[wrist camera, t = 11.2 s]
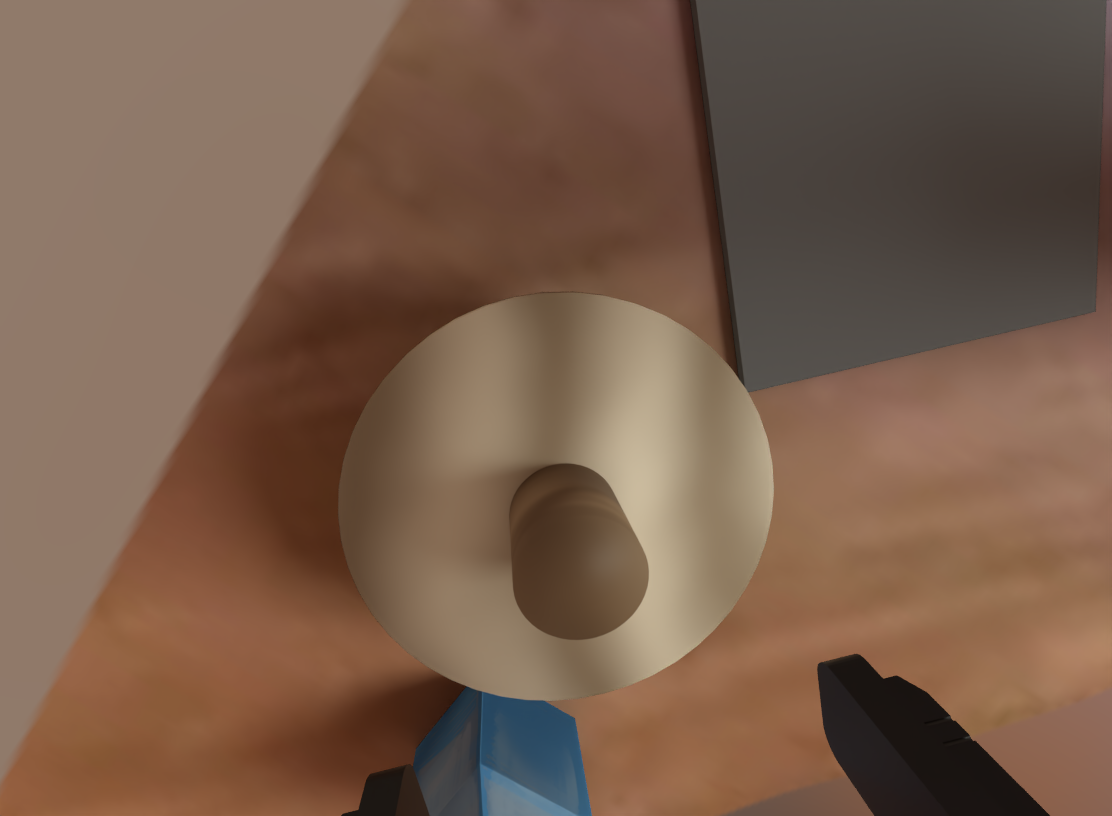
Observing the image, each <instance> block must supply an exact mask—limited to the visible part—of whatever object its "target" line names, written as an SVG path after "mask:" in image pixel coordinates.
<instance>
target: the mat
mask: <svg viewBox="0 0 1112 816" xmlns="http://www.w3.org/2000/svg"><path fill="white" fill-rule="evenodd" d="M690 3H691V10H692V18H693V26H694V33H695V41H696V49H697V57H698V64H699V72H700V80H701V88H702V95H703V103H704V111H705V119H706V126H707V134H708V142H709V150H710V157H711V165H712V173H713V180H714V188H715V196H716V204H717V211H718V219H719V227H720V235H721V242H722V250H723V258H724V266H725V273H726V281H727V289H728V296H729V304H730V312H731V320H732V327H733V335H734V343H735V351H736V358H737V366H738V374H739V380H740V381H741V383H742V384H743V386H744V387H745V388H746V390H747V392H752V391H756V390H761V389H765V388H769V387H774V386H778V385H782V384H786V383H791V382H795V381H799V380H804V379H808V378H812V377H817V376H821V375H825V374H829V373H834V372H838V371H842V370H847V369H851V368H855V367H860V366H864V365H868V364H873V363H877V362H881V361H885V360H890V359H894V358H898V357H903V356H907V355H911V354H916V353H920V352H924V351H928V350H933V349H937V348H941V347H946V346H950V345H954V344H959V343H963V342H967V341H971V340H976V339H980V338H984V337H989V336H993V335H997V334H1002V333H1006V332H1010V331H1014V330H1019V329H1023V328H1027V327H1032V326H1036V325H1040V324H1045V323H1049V322H1053V321H1057V320H1062V319H1066V318H1070V317H1075V316H1079V315H1083V314H1088V313H1092V312H1096V283H1097V255H1098V226H1099V198H1100V170H1101V141H1102V113H1103V84H1104V56H1105V27H1106V0H690Z"/></svg>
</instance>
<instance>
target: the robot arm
mask: <svg viewBox="0 0 1112 816" xmlns="http://www.w3.org/2000/svg"><path fill="white" fill-rule="evenodd" d="M817 671H818V681H819V690H820V699H821V708H822V717H823V726H824V730H825V734H826V737H827V740H828V743H829V745H830V748H831V750H832V752H833V754H834V756H835V758H836V760H837V761H838V763H839V764H840V766H841V767H842V769H843V770H844V772H845V773H846V775H847V776H848V778H849V779H850V780H851V782H852V784H853V785H854V786H855V788H856V789H857V791H858V792H859V794H860V795H861V797H862V798H863V800H864V801H865V803H866V804H867V806H868V807H869V809H870V810H871V811H872V813H873V814H874V816H1050V815H1049V814H1048V813H1047V812H1046V811H1045V810H1044V809H1043V808H1042V807H1041V806H1040V805H1039V804H1038V803H1037V802H1036V801H1035V800H1034V799H1033V798H1032V797H1031V796H1030V795H1029V794H1028V793H1027V792H1026V791H1025V790H1024V789H1023V788H1022V787H1021V786H1020V785H1019V784H1018V783H1017V782H1016V781H1015V780H1014V779H1013V778H1012V777H1011V776H1010V775H1009V774H1008V773H1007V772H1006V771H1005V770H1004V769H1003V768H1002V767H1001V766H1000V765H999V764H998V763H997V762H996V761H995V760H994V759H993V758H992V757H991V756H990V755H989V754H988V753H987V752H986V751H985V750H984V749H983V748H982V747H981V746H980V745H979V744H978V743H977V742H976V741H973V740H972V739H971V737H970V735H969V734H968V733H967V732H966V731H965V730H964V729H963V728H962V727H961V726H960V725H959V724H958V723H957V722H956V721H953V720H952V719H951V716H950V715H949V714H948V713H947V712H946V711H945V710H944V709H943V708H942V707H941V706H940V705H939V704H938V703H937V702H936V701H935V700H934V699H933V698H932V697H931V696H930V695H929V694H928V693H927V692H925V691H923V690H922V689H920V688H918V687H916V686H915V685H913V684H911V683H909V682H908V681H906V680H904V679H902V678H901V677H899V676H893V677H889V678H885V679H883V678H882V677H881V676H880V675H879V674H878V673H877V672H876V671H875V670H874V668H873V667H872V666H871V665H870V664H869V663H868V662H867V661H866V660H865V659H864V658H863V657H862V656H861V655H859V654H853V655H849V656H845V657H841V658H837V659H833V660H829V661H825V662H821V663H819V664H818V669H817ZM341 816H430V815H429V812H428V809H427V806H426V803H425V800H424V797H423V794H422V791H421V789H420V786H419V783H418V780H417V777H416V774H415V771H414V769H413V767H412V766H411V765H410V764H408V765H404V766H400V767H396V768H392V769H388V770H384V771H380V772H376V773H372V774H370V775H369V776H368V778H367V780H366V783H365V787H364V791H363V794H362V798H361V802H360V806H359V810H356V811H352V812H348V813H344V814H342V815H341Z"/></svg>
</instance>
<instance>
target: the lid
mask: <svg viewBox="0 0 1112 816" xmlns="http://www.w3.org/2000/svg"><path fill="white" fill-rule="evenodd" d="M773 493H774V485H773V467H772V460H771V455H770V450H769V444H768V439H767V436H766V433H765V430H764V427H763V425H762V422H761V419H760V416H759V413H758V411H757V409H756V407H755V405H754V403H753V402H752V400H751V398H750V396H749V394H748V392H747V390H746V388H745V387H744V386H743V384H742V383H741V381H740V380H739V379H738V377H737V376H736V374H735V373H734V372H733V370H732V369H731V367H730V366H729V365H728V364H727V363H726V362H725V361H724V360H723V359H722V358H721V357H720V356H719V355H718V354H717V353H716V352H715V351H714V349H713V348H712V347H710V346H709V345H708V344H707V343H705V342H704V341H703V340H701V339H700V338H699V337H698V336H696V335H695V334H694V333H693V332H691V331H690V330H689V329H687V328H685V327H684V326H682V325H680V324H678V323H677V322H675V321H673V320H672V319H670V318H668V317H666V316H665V315H662V314H660V313H658V312H655V311H653V310H650V309H648V308H645V307H643V306H640V305H638V304H635V303H631V302H627V301H623V300H620V299H616V298H612V297H608V296H604V295H598V294H589V293H580V292H541V293H535V294H528V295H522V296H516V297H511V298H508V299H504V300H501V301H498V302H494V303H491V304H487V305H484V306H482V307H480V308H477V309H475V310H473V311H471V312H469V313H466V314H464V315H462V316H460V317H457V318H456V319H454V320H452V321H451V322H449V323H448V324H446V325H444V326H443V327H441V328H440V329H438V330H436V331H435V332H433V333H431V334H430V335H429V336H428V337H427V338H425V339H424V340H423V341H422V342H421V343H419V344H418V345H417V346H416V347H415V348H413V349H412V350H411V351H410V352H408V353H407V354H406V355H405V356H404V357H403V359H402V360H401V361H400V362H399V363H398V364H397V365H396V366H395V367H394V368H393V369H392V370H391V372H390V373H389V374H388V375H387V376H386V377H385V378H384V379H383V381H382V382H381V383H380V385H379V386H378V388H377V389H376V391H375V392H374V394H373V395H372V397H371V398H370V399H369V401H368V402H367V404H366V406H365V408H364V410H363V412H362V414H361V416H360V418H359V420H358V422H357V424H356V426H355V428H354V430H353V432H352V435H351V438H350V441H349V444H348V447H347V450H346V453H345V456H344V460H343V466H342V471H341V477H340V483H339V497H338V519H339V527H340V536H341V543H342V546H343V550H344V554H345V558H346V561H347V565H348V568H349V571H350V573H351V575H352V578H353V580H354V582H355V585H356V587H357V589H358V592H359V593H360V595H361V597H362V598H363V600H364V602H365V603H366V605H367V607H368V608H369V610H370V612H371V613H372V615H373V616H374V617H375V619H376V620H377V621H378V622H379V623H380V625H381V626H382V627H383V628H384V630H385V631H386V632H387V633H388V634H389V636H391V637H392V638H393V639H394V640H395V641H396V642H397V643H398V644H399V645H400V646H401V647H402V648H403V649H404V650H405V651H407V652H408V653H409V654H410V655H412V656H413V657H414V658H416V659H417V660H419V661H420V662H421V663H423V664H424V665H426V666H427V667H428V668H430V669H432V670H434V671H436V672H437V673H439V674H441V675H443V676H445V677H447V678H448V679H450V680H452V681H455V682H457V683H460V684H462V685H465V686H468V687H470V688H473V689H475V690H478V691H482V692H486V693H490V694H494V695H498V696H502V697H509V698H516V699H523V700H546V701H555V700H567V699H578V698H584V697H589V696H594V695H599V694H604V693H607V692H610V691H614V690H617V689H620V688H623V687H626V686H629V685H632V684H634V683H636V682H638V681H641V680H643V679H645V678H647V677H650V676H652V675H654V674H656V673H657V672H659V671H661V670H663V669H664V668H666V667H668V666H669V665H671V664H673V663H675V662H676V661H678V660H679V659H680V658H682V657H683V656H684V655H686V654H687V653H688V652H690V651H691V650H692V649H694V648H695V647H696V646H698V645H699V644H700V643H701V642H702V641H703V640H704V639H705V638H706V637H707V636H708V635H709V634H710V633H711V632H712V631H714V630H715V629H716V627H717V626H718V625H719V624H720V623H721V622H722V620H723V619H724V618H725V617H726V616H727V615H728V613H729V612H730V611H731V610H732V608H733V607H734V605H735V604H736V602H737V601H738V599H739V598H740V596H741V595H742V593H743V592H744V590H745V589H746V587H747V585H748V583H749V581H750V579H751V577H752V575H753V573H754V571H755V569H756V567H757V565H758V563H759V560H760V557H761V554H762V551H763V549H764V546H765V543H766V540H767V535H768V530H769V526H770V521H771V517H772V506H773Z"/></svg>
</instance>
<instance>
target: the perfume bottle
mask: <svg viewBox="0 0 1112 816" xmlns="http://www.w3.org/2000/svg"><path fill="white" fill-rule="evenodd" d="M413 769H414V771H415V774H416V777H417V780H418V783H419V786H420V789H421V791H422V794H423V797H424V800H425V803H426V806H427V809H428V812H429V815H430V816H592V814H591V808H590V802H589V797H588V791H587V785H586V779H585V774H584V768H583V762H582V756H581V751H580V745H579V739H578V733H577V727H576V722H575V718H573V717H571V716H570V715H568V714H566V713H564V712H563V711H561V710H559V709H557V708H556V707H554V706H552V705H551V704H549V703H547V702H545V701H544V700H523V699H516V698H509V697H502V696H498V695H494V694H490V693H486V692H482V691H478V690H475V689H473V688H470V687H468V686H467V687H466V688H465V689H464V690H463V691H462V693H461V694H460V695H459V696H458V698H457V699H456V700H455V701H454V703H453V704H452V705H451V706H450V707H449V709H448V710H447V711H446V712H445V714H444V715H443V716H442V717H441V719H440V720H439V721H438V722H437V724H436V725H435V726H434V727H433V728H432V730H431V731H430V732H429V733H428V735H427V736H426V737H425V738H424V740H423V741H422V742H421V743H420V745H419V746H418V747H417V748H416V752H415V758H414V764H413Z"/></svg>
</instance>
